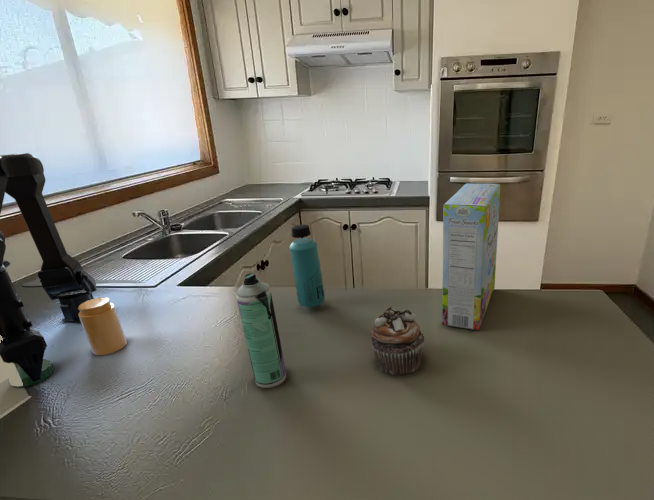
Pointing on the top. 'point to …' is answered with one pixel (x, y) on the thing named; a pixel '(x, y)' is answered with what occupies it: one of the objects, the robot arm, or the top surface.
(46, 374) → the jam lid
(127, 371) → the top surface
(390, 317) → the cupcake
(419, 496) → the top surface
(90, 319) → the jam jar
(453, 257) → the snack box
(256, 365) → the spray can
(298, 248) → the beverage bottle
